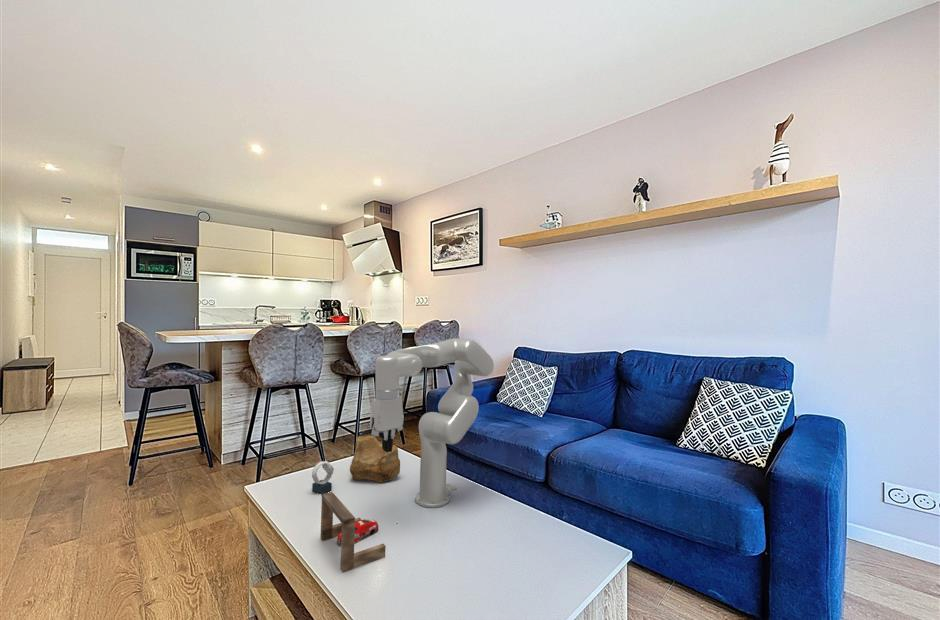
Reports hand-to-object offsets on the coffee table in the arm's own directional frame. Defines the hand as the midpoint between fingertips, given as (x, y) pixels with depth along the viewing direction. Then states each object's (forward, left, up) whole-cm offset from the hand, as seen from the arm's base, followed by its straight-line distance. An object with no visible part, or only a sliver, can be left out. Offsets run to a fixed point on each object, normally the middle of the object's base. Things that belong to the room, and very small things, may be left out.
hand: (387, 450), depth 129 cm
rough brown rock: (-10, -38, -24) cm, 46 cm away
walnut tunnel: (+14, +7, -23) cm, 28 cm away
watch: (+10, -35, -23) cm, 43 cm away
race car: (+10, +3, -24) cm, 26 cm away
